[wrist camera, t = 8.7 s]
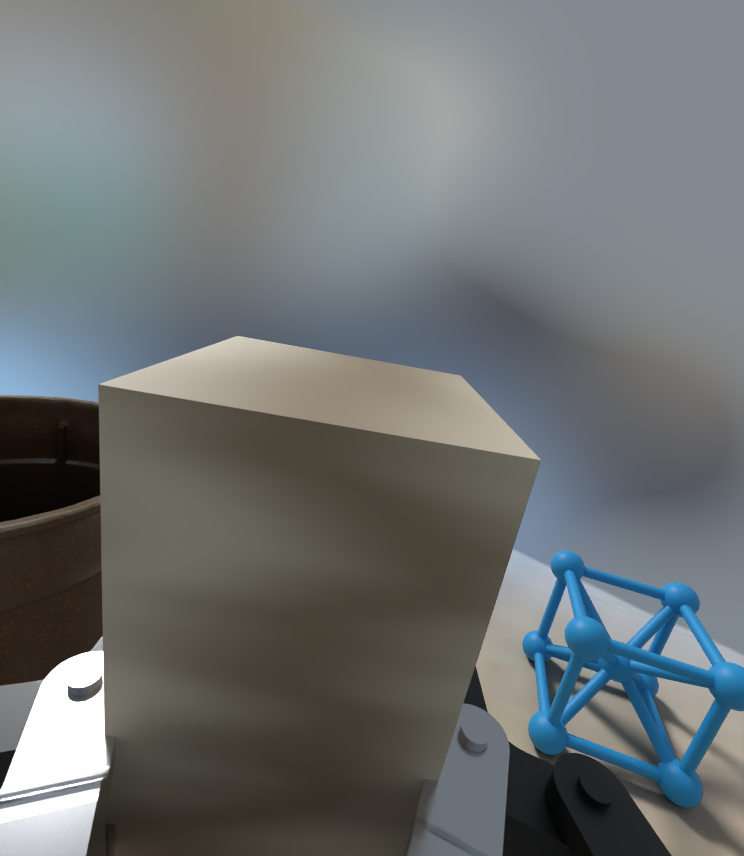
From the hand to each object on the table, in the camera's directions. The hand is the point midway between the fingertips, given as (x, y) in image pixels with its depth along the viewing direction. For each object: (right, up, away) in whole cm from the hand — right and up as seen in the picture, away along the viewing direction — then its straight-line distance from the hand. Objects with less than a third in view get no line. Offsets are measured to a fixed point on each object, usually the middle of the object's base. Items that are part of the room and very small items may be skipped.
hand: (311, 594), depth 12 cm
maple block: (-1, -8, 0) cm, 8 cm away
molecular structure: (+17, -16, +19) cm, 31 cm away
